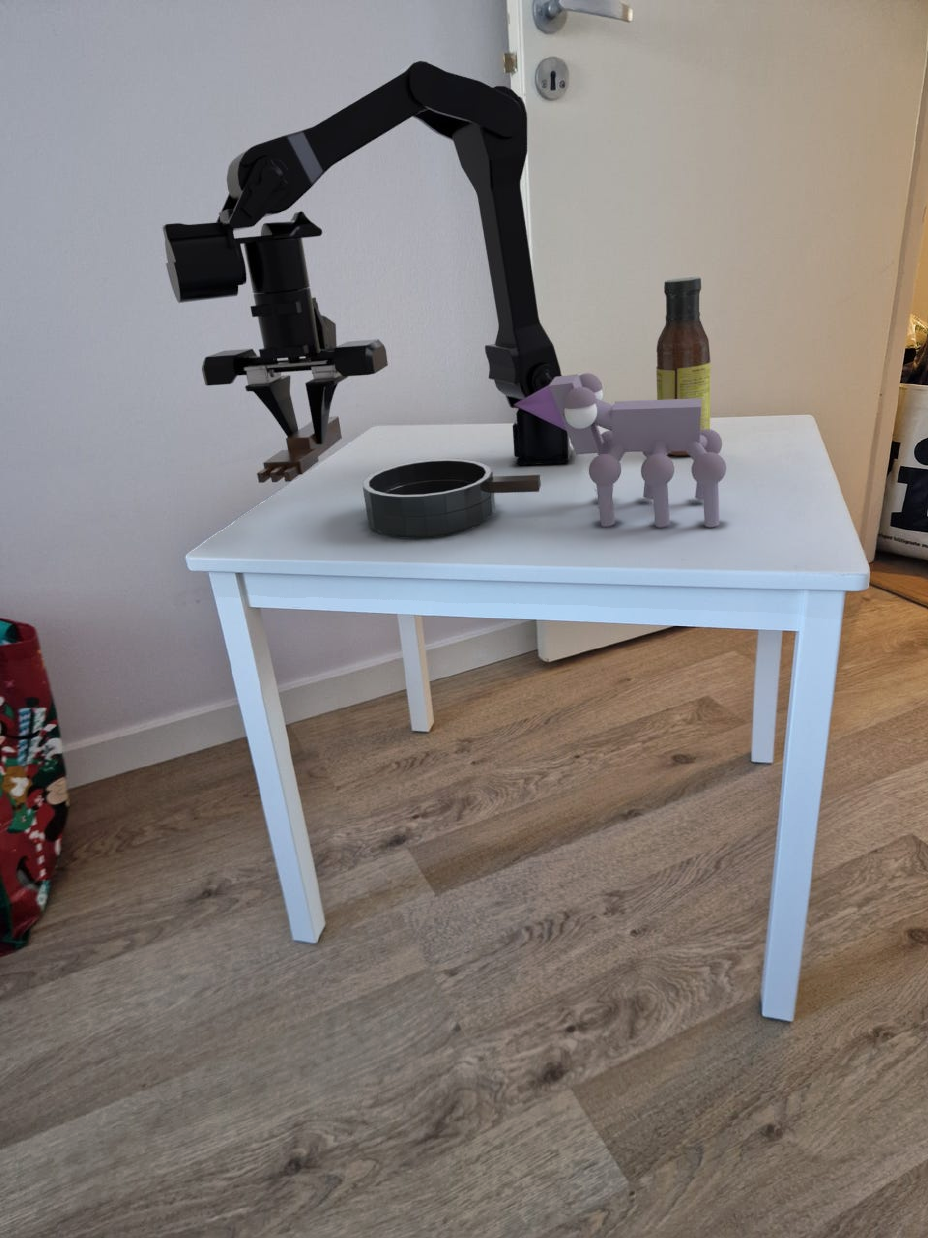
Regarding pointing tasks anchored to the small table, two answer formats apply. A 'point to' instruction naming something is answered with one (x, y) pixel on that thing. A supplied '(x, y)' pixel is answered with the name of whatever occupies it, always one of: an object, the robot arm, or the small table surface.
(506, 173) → the robot arm
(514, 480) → the pan handle
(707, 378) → the sauce bottle
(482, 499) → the pan
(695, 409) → the toy sheep
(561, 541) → the small table surface
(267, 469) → the fork
